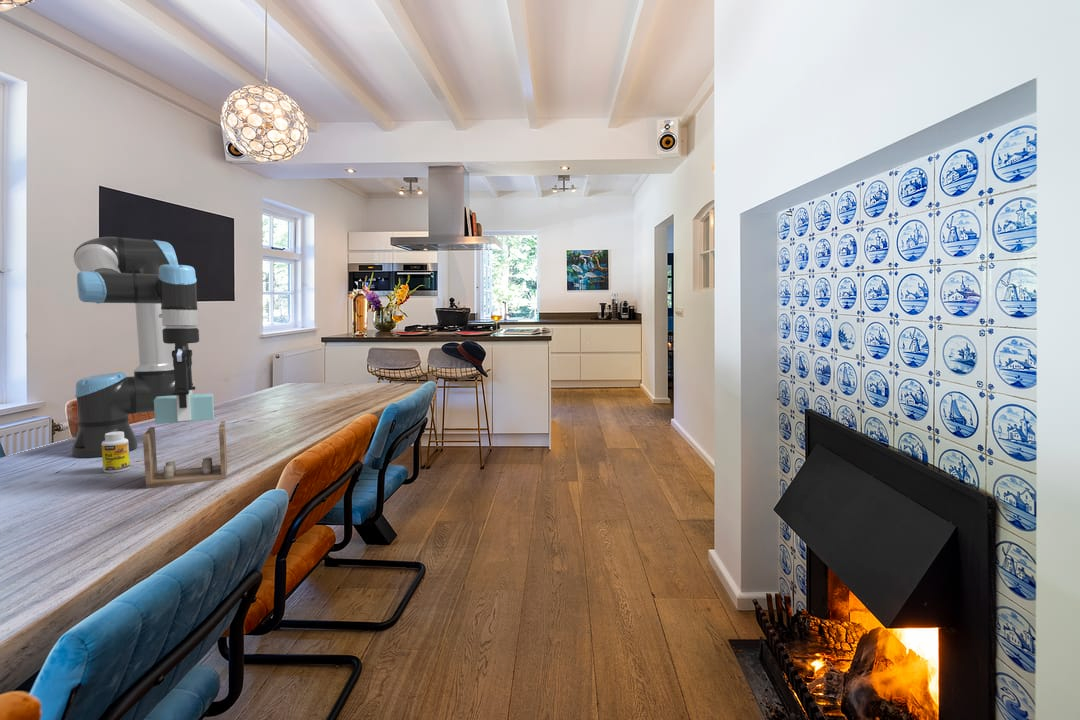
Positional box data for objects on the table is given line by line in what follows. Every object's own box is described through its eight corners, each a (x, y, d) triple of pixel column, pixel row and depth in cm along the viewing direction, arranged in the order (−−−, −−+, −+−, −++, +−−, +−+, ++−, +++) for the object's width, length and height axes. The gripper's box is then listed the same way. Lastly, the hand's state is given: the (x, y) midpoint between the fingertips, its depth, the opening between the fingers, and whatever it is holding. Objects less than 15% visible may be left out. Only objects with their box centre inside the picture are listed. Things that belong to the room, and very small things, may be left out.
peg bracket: (153, 476, 133) (149, 427, 132) (227, 467, 141) (225, 421, 140) (146, 488, 124) (142, 435, 123) (225, 478, 132) (223, 428, 131)
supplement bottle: (101, 474, 134) (99, 436, 133) (105, 469, 139) (102, 432, 138) (129, 471, 137) (126, 433, 136) (131, 466, 142) (128, 429, 141)
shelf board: (158, 419, 131) (156, 396, 130) (214, 415, 137) (212, 393, 136) (155, 424, 126) (153, 400, 125) (213, 419, 132) (212, 396, 131)
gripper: (167, 326, 135) (172, 412, 138) (156, 328, 119) (162, 426, 121) (201, 326, 139) (206, 410, 141) (195, 328, 123) (200, 423, 125)
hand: (185, 417), depth 131 cm, fingers closed on shelf board, 6 cm apart
